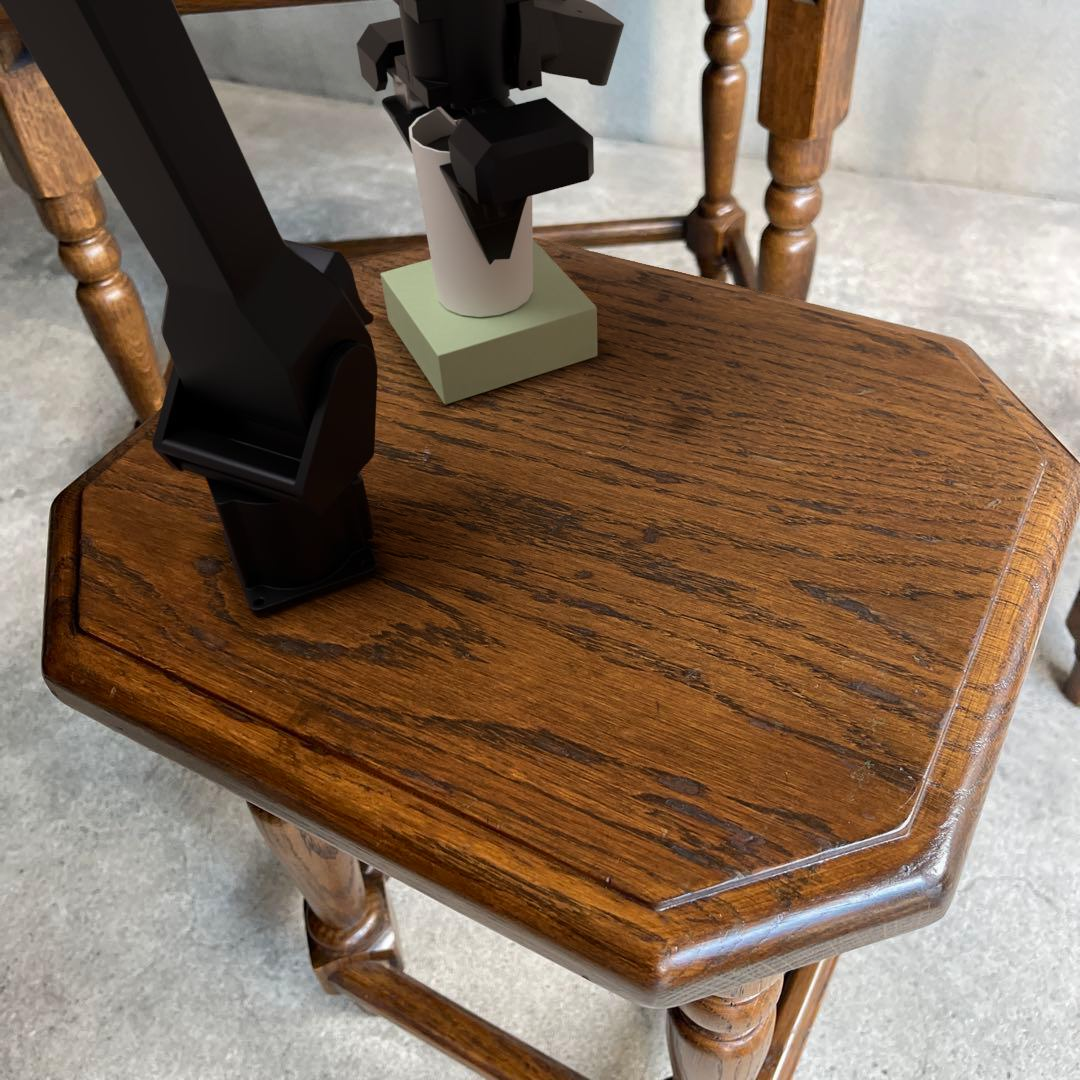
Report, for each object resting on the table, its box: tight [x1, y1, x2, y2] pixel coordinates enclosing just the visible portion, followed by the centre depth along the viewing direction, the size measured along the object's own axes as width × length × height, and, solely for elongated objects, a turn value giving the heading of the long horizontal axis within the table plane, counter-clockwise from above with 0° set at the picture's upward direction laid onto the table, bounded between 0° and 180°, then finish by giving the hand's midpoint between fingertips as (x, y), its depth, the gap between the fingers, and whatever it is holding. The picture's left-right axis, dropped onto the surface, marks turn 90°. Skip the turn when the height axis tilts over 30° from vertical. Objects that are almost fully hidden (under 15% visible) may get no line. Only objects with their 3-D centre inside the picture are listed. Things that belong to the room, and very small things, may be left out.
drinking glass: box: [409, 109, 534, 317], centre depth 63 cm, size 7×7×10 cm
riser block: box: [380, 239, 598, 405], centre depth 68 cm, size 10×10×4 cm
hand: (480, 244), depth 64 cm, fingers closed on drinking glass, 5 cm apart
